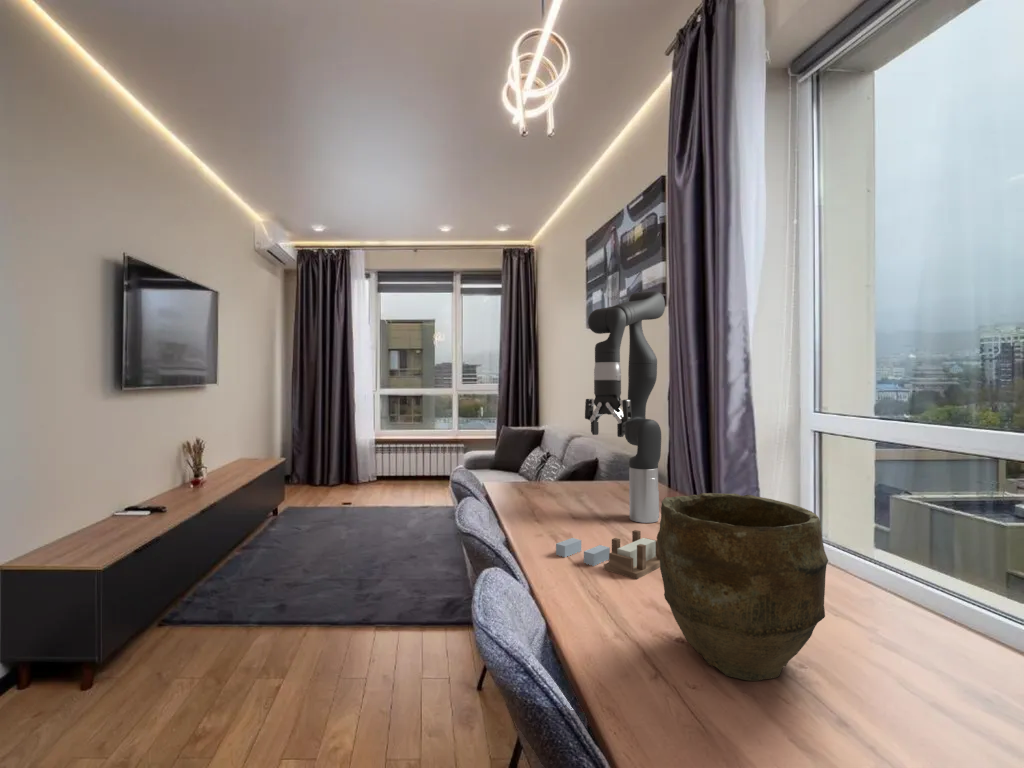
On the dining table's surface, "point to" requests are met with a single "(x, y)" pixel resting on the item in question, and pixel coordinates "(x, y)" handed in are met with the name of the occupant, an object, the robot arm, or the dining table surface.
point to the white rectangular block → (631, 549)
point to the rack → (625, 563)
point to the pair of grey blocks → (590, 556)
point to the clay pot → (742, 578)
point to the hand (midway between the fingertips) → (607, 435)
